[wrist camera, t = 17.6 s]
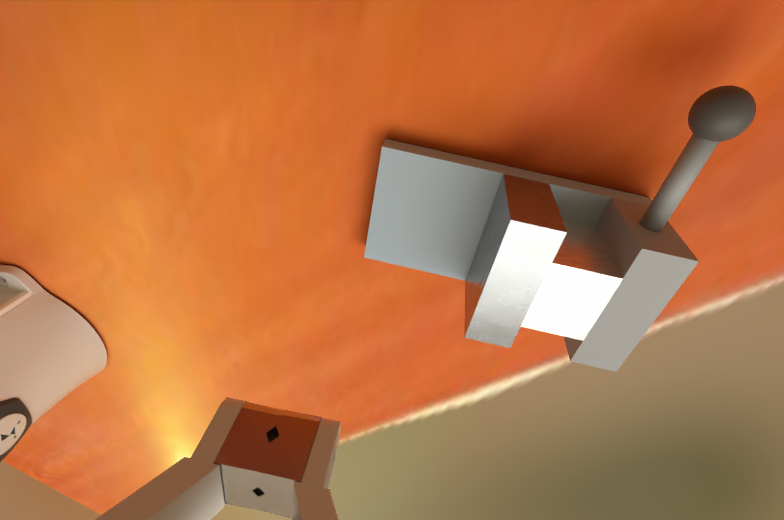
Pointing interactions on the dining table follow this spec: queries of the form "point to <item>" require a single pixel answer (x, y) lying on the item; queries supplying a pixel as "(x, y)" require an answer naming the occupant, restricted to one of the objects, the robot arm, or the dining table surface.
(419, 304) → the dining table surface
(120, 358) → the dining table surface
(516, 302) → the jaw
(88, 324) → the robot arm
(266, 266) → the dining table surface
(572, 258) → the block
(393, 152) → the vise base
